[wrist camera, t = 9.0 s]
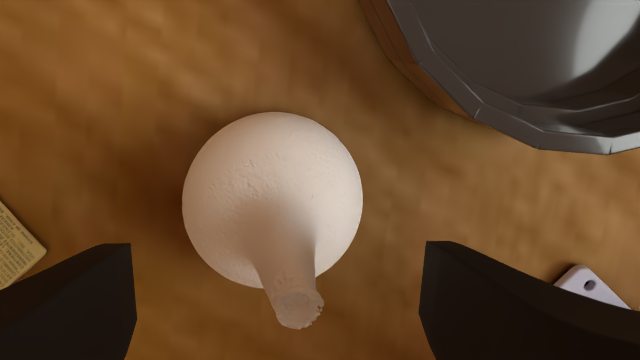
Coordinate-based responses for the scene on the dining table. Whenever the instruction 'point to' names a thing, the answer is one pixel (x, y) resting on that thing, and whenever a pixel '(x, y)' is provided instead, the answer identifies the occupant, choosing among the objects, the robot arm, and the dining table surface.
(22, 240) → the candy box
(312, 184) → the garlic bulb
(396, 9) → the pan
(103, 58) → the dining table surface
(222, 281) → the dining table surface
